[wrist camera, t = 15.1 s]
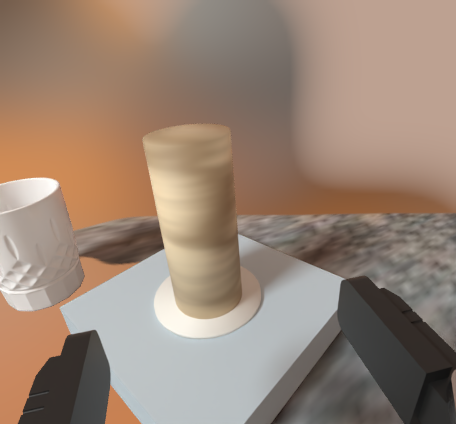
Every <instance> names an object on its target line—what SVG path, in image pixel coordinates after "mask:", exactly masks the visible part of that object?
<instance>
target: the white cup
mask: <svg viewBox="0 0 456 424" xmlns="http://www.w3.org/2000/svg"><path fill="white" fill-rule="evenodd" d="M83 279H84V272H83V269H82V266H81V263H80V259H79V255H78V248H77V243H76V239H75V236H74V233H73V228H72V224H71V221H70V218H69V214H68V211H67V208H66V204H65V201H64V198H63V194H62V191H61V187H60V184H59V182H58V181H56V180H54V179H50V178H29V179H22V180H16V181H11V182H6V183H3V184H0V290H1V292H2V294H3V295H4V297H5V299H6V300H7V302H8V304H9V305H10V306H12V307H13V308H15V309H16V310H18V311H37V310H40V309H44V308H47V307H51V306H54V305H55V304H57V303H59V302H61V301H63V300H65V299H66V298H68V297H69V296H71V295H72V294H73V293H74V292H75V291H76V290H77V289H78V288H79V287H80V286H81V283H82V281H83Z"/></svg>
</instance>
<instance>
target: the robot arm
mask: <svg viewBox="0 0 456 424" xmlns="http://www.w3.org/2000/svg"><path fill="white" fill-rule="evenodd" d="M337 318H338V322H339V325H340V327H341V330H342V331H343V333H344V334H345V336H346V337H347V339H348V340H349V342H350V343H351V345H352V346H353V348H354V349H355V351H356V352H357V354H358V355H359V357H360V358H361V360H362V361H363V363H364V364H365V366H366V367H367V369H368V370H369V372H370V373H371V375H372V376H373V378H374V379H375V381H376V382H377V383H378V385H379V386H380V388H381V389H382V391H383V392H384V394H385V395H386V397H387V398H388V400H389V401H390V403H391V404H392V406H393V407H394V409H395V410H396V412H397V413H398V415H399V416H400V418H401V419H402V421H403V422H404V424H456V352H455V351H454V350H453V349H452V348H451V347H450V346H449V345H448V344H447V343H446V342H445V341H444V340H443V339H442V338H441V337H440V336H439V335H438V334H437V333H436V332H435V331H434V330H433V329H432V328H431V327H430V326H429V325H428V324H427V323H426V322H423V321H422V319H421V318H420V317H419V316H418V315H417V314H416V313H415V312H413V311H412V309H411V308H410V307H409V306H408V305H407V304H406V303H405V302H404V301H403V300H402V299H401V298H400V297H399V296H397V295H396V294H394V293H392V292H390V291H389V290H387V289H385V288H381V289H379V288H378V287H377V286H376V285H375V284H374V283H373V282H372V281H371V280H370V279H369V278H368V277H366V276H359V277H355V278H350V279H345V280H342V281H341V284H340V292H339V301H338V309H337ZM110 382H111V373H110V365H109V362H108V359H107V356H106V354H105V351H104V348H103V346H102V343H101V340H100V338H99V335H98V333H97V331H96V330H91V331H86V332H81V333H76V334H71V335H68V336H67V338H66V340H65V343H64V346H63V349H62V353H61V355H60V356H56V357H51V358H49V359H48V361H47V362H46V363H45V365H44V366H43V367H42V368H41V370H40V371H39V372H38V374H37V375H36V377H35V380H34V382H33V385H32V388H31V390H30V393H29V398H28V399H27V401H26V404H25V406H24V409H23V415H21V417H20V420H19V423H18V424H105V419H106V411H107V404H108V396H109V390H110Z"/></svg>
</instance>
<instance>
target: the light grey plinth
mask: <svg viewBox="0 0 456 424" xmlns="http://www.w3.org/2000/svg"><path fill="white" fill-rule="evenodd" d="M238 242H239V256H240V270H241V284H242V297H241V300H240V302H239V304H238V305H237V306H236V307H235V308H234V309H233V310H232V311H230V312H229V313H227V314H225V315H223V316H220V317H217V318H213V319H196V318H192V317H189V316H187V315H185V314H184V313H182V312H181V311H180V310H179V309H178V307H177V305H176V302H175V297H174V292H173V287H172V282H171V277H170V272H169V267H168V263H167V258H166V253H165V249H163V250H161V251H159V252H158V253H156V254H154V255H152V256H150V257H149V258H147V259H145V260H143V261H142V262H140V263H138V264H136V265H134V266H133V267H131V268H129V269H128V270H126V271H124V272H122V273H120V274H118V275H117V276H115V277H113V278H111V279H110V280H108V281H106V282H104V283H102V284H101V285H99V286H97V287H95V288H93V289H92V290H90V291H88V292H86V293H85V294H83V295H81V296H79V297H78V298H76V299H74V300H72V301H70V302H69V303H67V304H65V305H63V306H61V307H60V309H61V312H62V314H63V316H64V319H65V321H66V323H67V326H68V328H69V330H70V333H71V334H76V333H81V332H86V331H91V330H96V331H97V333H98V335H99V338H100V340H101V343H102V346H103V348H104V351H105V354H106V356H107V359H108V362H109V365H110V373H111V382H110V384H111V385H112V387H113V388H114V389H115V391H116V392H117V393H118V394H119V395H120V397H121V398H122V399H123V401H124V402H125V403H126V404H127V406H128V407H129V408H130V410H131V411H132V412H133V413H134V415H135V416H136V417H137V418H138V419H139V421H140V422H141V423H142V424H271V423H272V421H273V420H274V419H275V417H276V416H277V415H278V413H279V412H280V411H281V409H282V408H283V407H284V405H285V404H286V403H287V401H288V400H289V399H290V397H291V396H292V395H293V393H294V392H295V391H296V389H297V388H298V387H299V385H300V384H301V383H302V381H303V380H304V379H305V377H306V376H307V375H308V373H309V372H310V371H311V369H312V368H313V367H314V365H315V364H316V363H317V361H318V360H319V359H320V357H321V356H322V355H323V353H324V352H325V351H326V349H327V348H328V347H329V345H330V344H331V343H332V341H333V340H334V339H335V337H336V336H337V335H338V333H339V332H340V331H341V327H340V325H339V322H338V318H337V309H338V301H339V292H340V284H341V281H342V280H345V279H344V278H342V277H339V276H337V275H335V274H332V273H330V272H327V271H325V270H323V269H320V268H318V267H315V266H313V265H311V264H308V263H306V262H304V261H301V260H299V259H296V258H294V257H292V256H289V255H287V254H285V253H282V252H280V251H277V250H275V249H273V248H270V247H268V246H266V245H263V244H261V243H258V242H256V241H254V240H251V239H249V238H246V237H244V236H242V235H239V234H238Z"/></svg>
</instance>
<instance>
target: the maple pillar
mask: <svg viewBox="0 0 456 424" xmlns="http://www.w3.org/2000/svg"><path fill="white" fill-rule="evenodd" d="M143 145H144V150H145V155H146V160H147V165H148V169H149V174H150V179H151V184H152V189H153V194H154V198H155V203H156V209H157V213H158V218H159V223H160V228H161V233H162V238H163V243H164V248H165V253H166V258H167V263H168V267H169V272H170V277H171V282H172V287H173V292H174V297H175V302H176V305H177V307H178V309H179V310H180V311H181V312H182V313H184V314H185V315H187V316H189V317H192V318H196V319H213V318H217V317H220V316H223V315H225V314H227V313H229V312H230V311H232V310H233V309H234V308H235V307H236V306H237V305H238V304H239V302H240V300H241V297H242V284H241V270H240V256H239V242H238V228H237V214H236V201H235V188H234V173H233V161H232V160H233V159H232V145H231V131H230V128H228V127H226V126H223V125H217V124H188V125H180V126H174V127H168V128H164V129H160V130H157V131H154V132H151V133H149V134H147V135H146V136H144V137H143Z"/></svg>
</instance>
